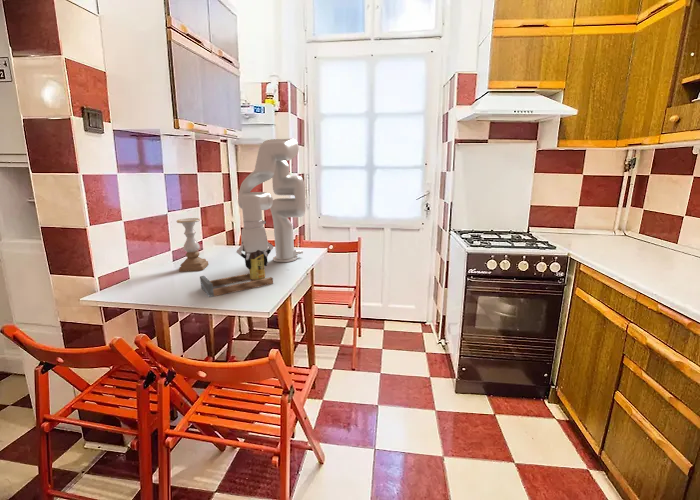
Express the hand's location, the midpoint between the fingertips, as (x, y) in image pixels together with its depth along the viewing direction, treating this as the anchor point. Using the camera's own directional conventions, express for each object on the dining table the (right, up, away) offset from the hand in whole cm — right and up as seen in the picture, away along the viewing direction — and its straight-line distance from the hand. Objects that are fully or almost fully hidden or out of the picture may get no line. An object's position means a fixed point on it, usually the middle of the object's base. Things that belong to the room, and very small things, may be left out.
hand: (256, 266), depth 154 cm
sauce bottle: (0, -7, +2) cm, 7 cm away
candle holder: (-37, -2, +25) cm, 45 cm away
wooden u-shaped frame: (-6, -8, -3) cm, 10 cm away
